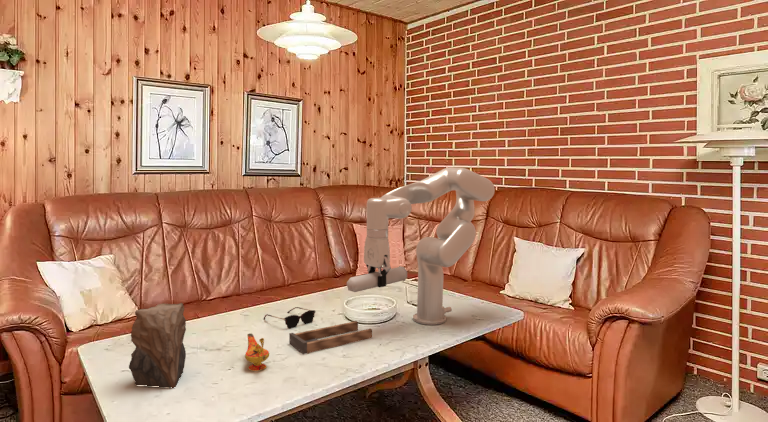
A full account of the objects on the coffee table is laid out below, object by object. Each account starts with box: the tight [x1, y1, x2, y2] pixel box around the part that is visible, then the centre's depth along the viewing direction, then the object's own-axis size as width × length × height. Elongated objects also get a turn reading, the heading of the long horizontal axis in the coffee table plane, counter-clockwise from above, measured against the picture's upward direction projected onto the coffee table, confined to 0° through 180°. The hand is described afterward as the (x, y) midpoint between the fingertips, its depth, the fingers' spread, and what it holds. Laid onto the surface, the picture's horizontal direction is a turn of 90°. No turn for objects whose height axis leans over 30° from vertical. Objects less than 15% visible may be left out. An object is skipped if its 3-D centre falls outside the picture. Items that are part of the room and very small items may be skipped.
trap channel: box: [288, 320, 373, 355], centre depth 169 cm, size 26×10×4 cm, turn 125°
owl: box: [128, 302, 187, 389], centre depth 139 cm, size 13×13×20 cm
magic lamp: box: [244, 333, 270, 372], centre depth 149 cm, size 7×18×11 cm, turn 27°
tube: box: [346, 265, 408, 293], centre depth 178 cm, size 5×5×25 cm
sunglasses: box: [263, 306, 316, 330], centre depth 189 cm, size 14×16×5 cm
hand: (377, 284), depth 178 cm, fingers closed on tube, 5 cm apart
